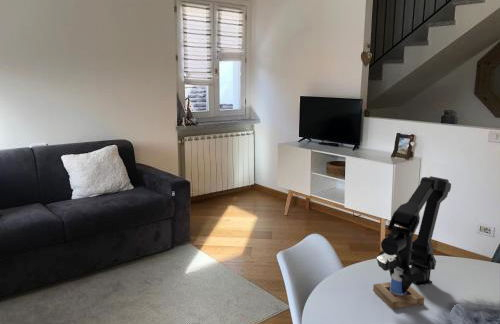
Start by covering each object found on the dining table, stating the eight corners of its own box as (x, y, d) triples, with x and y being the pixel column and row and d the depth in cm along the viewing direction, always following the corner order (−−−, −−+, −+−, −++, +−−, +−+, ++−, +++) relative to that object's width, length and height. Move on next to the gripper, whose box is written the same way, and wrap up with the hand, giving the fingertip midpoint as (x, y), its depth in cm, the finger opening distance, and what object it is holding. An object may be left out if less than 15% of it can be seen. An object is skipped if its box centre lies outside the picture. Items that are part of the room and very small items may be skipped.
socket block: (402, 286, 157) (403, 280, 157) (423, 304, 146) (424, 297, 145) (373, 290, 154) (373, 284, 154) (391, 308, 143) (392, 302, 142)
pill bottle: (407, 300, 147) (410, 273, 144) (390, 298, 148) (393, 271, 146) (405, 291, 152) (407, 266, 150) (388, 290, 153) (391, 264, 151)
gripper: (367, 237, 153) (364, 277, 156) (397, 260, 135) (393, 305, 138) (395, 234, 155) (391, 274, 159) (428, 256, 138) (423, 301, 141)
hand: (398, 288), depth 149 cm, fingers closed on pill bottle, 5 cm apart
